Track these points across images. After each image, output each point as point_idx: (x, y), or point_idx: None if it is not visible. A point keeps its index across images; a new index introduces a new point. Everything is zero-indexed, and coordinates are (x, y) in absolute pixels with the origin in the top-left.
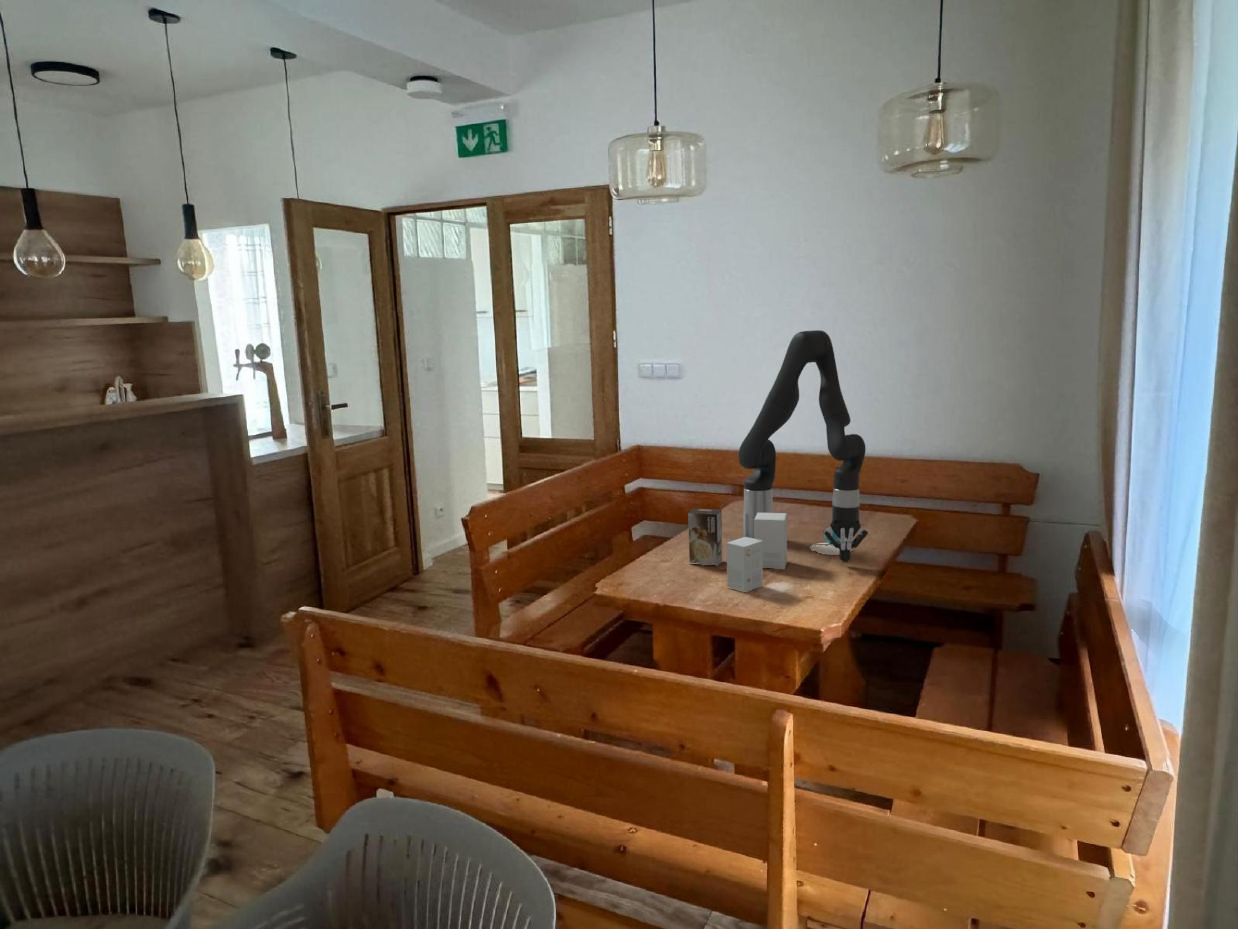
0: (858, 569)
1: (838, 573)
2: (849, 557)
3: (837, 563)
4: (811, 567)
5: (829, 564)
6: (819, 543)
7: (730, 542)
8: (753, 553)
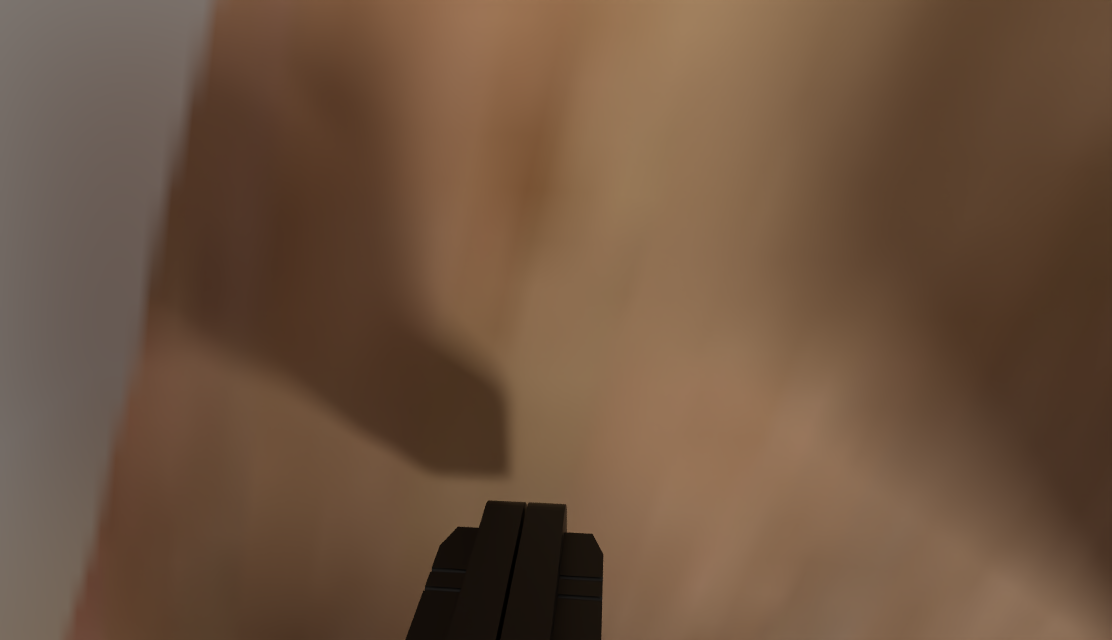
0: (373, 358)
1: (717, 195)
2: (447, 557)
3: None
4: (1018, 501)
5: (713, 584)
6: None
7: None
8: None
